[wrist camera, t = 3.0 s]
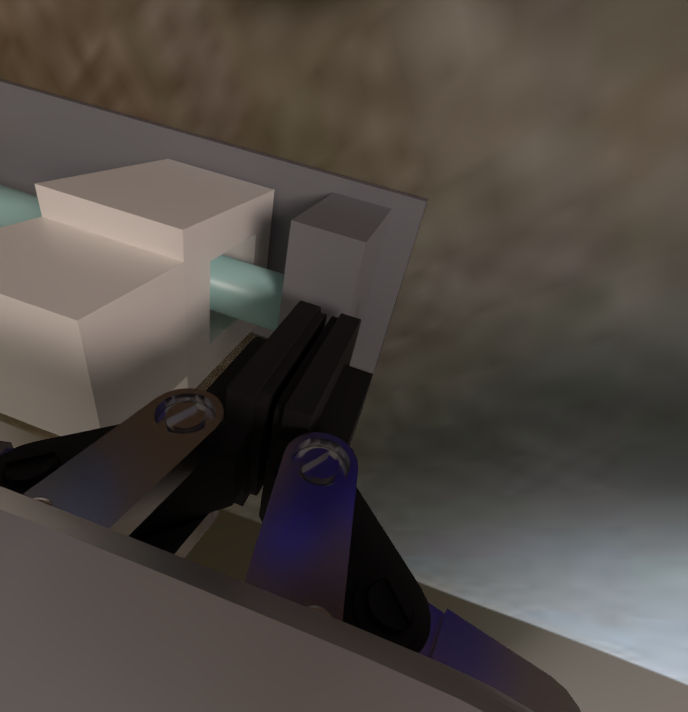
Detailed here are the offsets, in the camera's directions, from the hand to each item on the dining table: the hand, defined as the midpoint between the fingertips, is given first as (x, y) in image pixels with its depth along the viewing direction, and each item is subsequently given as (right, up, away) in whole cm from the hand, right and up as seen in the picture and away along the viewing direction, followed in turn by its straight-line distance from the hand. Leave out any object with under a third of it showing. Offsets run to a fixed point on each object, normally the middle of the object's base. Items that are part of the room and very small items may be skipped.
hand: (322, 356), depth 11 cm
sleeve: (-4, +4, +4) cm, 7 cm away
